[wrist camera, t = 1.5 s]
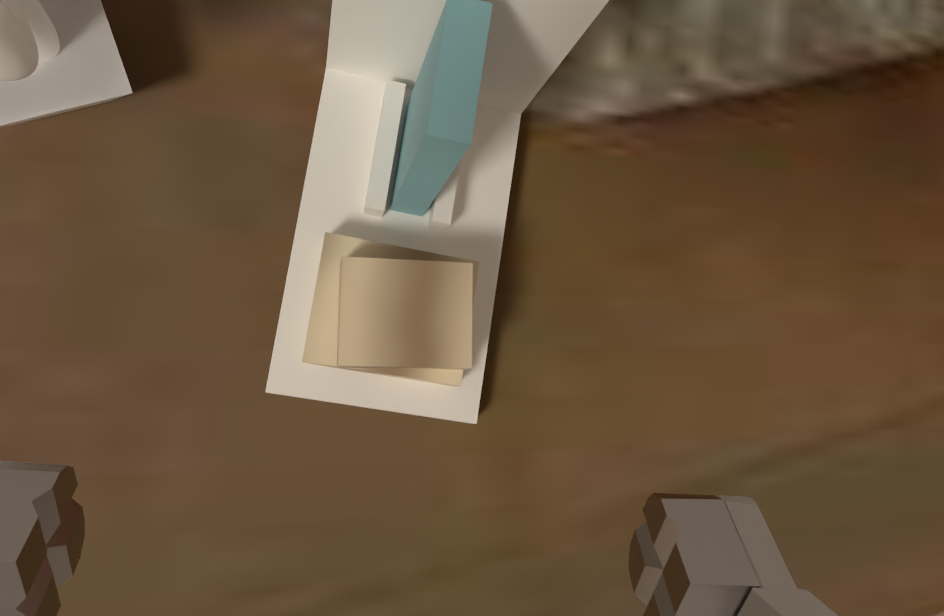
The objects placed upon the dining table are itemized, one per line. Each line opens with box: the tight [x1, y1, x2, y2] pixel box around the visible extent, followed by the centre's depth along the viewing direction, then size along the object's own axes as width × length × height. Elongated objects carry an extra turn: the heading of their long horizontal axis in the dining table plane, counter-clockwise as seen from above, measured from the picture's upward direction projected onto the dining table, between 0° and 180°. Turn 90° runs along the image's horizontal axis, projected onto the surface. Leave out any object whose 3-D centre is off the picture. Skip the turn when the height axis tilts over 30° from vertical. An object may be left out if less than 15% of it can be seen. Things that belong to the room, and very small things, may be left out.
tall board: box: [390, 0, 493, 217], centre depth 37 cm, size 2×6×12 cm, turn 171°
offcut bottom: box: [302, 232, 479, 387], centre depth 40 cm, size 8×6×2 cm
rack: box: [265, 0, 609, 424], centre depth 36 cm, size 11×19×15 cm, turn 172°
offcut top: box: [337, 256, 473, 370], centre depth 39 cm, size 6×5×2 cm
